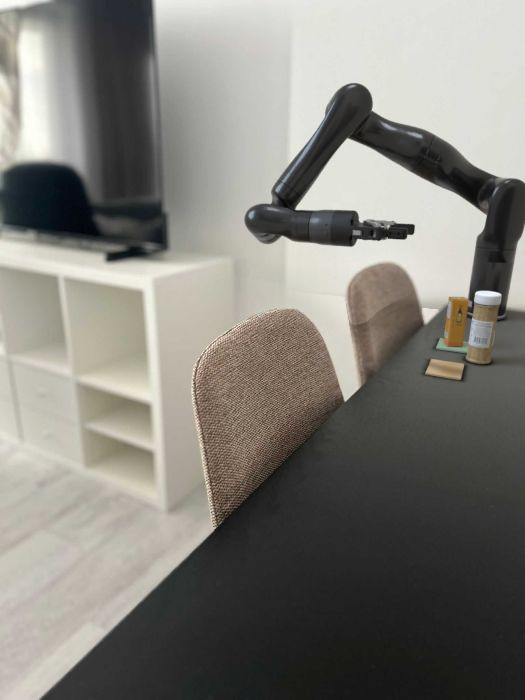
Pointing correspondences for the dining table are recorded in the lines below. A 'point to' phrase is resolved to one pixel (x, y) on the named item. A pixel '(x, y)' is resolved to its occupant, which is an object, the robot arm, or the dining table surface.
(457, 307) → the supplement box
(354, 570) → the dining table surface
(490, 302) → the sprinkles bottle
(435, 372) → the oak mat
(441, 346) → the green mat
